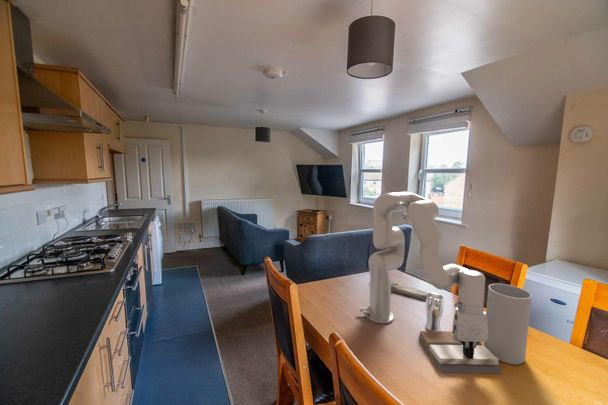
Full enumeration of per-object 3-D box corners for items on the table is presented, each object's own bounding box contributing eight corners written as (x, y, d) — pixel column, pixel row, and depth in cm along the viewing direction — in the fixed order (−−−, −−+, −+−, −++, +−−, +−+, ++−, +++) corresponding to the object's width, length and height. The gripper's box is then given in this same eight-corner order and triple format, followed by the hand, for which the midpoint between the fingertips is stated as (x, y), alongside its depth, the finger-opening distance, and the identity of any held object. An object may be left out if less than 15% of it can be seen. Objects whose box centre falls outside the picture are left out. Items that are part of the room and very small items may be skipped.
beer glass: (440, 325, 118) (442, 293, 117) (443, 334, 112) (445, 300, 110) (423, 322, 121) (425, 291, 119) (425, 331, 114) (427, 298, 112)
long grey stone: (429, 306, 138) (433, 300, 146) (430, 297, 138) (434, 291, 146) (367, 285, 160) (373, 280, 168) (368, 276, 159) (374, 272, 167)
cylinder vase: (527, 370, 92) (535, 302, 89) (484, 357, 98) (489, 293, 95) (521, 350, 102) (528, 288, 99) (482, 339, 109) (487, 281, 106)
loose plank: (440, 364, 92) (440, 358, 92) (429, 349, 100) (429, 344, 100) (498, 364, 92) (498, 359, 92) (482, 350, 100) (483, 345, 100)
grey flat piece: (442, 372, 91) (442, 362, 90) (418, 338, 109) (419, 329, 109) (501, 373, 90) (502, 363, 90) (467, 338, 109) (468, 330, 109)
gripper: (454, 312, 88) (452, 363, 90) (500, 312, 88) (497, 364, 89) (443, 301, 95) (441, 349, 97) (485, 301, 95) (482, 349, 97)
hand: (468, 356), depth 93 cm, fingers closed
